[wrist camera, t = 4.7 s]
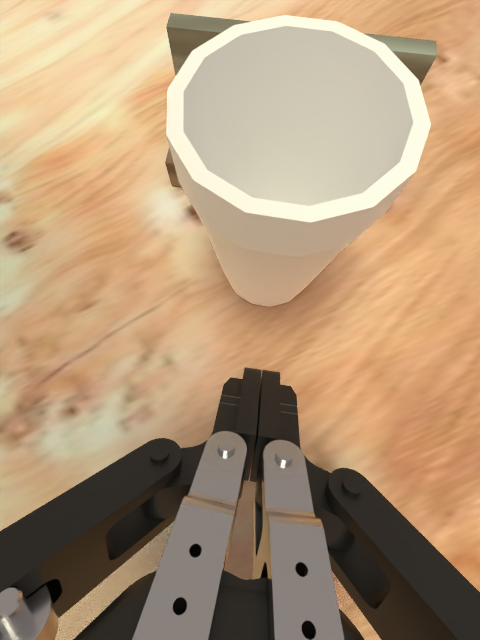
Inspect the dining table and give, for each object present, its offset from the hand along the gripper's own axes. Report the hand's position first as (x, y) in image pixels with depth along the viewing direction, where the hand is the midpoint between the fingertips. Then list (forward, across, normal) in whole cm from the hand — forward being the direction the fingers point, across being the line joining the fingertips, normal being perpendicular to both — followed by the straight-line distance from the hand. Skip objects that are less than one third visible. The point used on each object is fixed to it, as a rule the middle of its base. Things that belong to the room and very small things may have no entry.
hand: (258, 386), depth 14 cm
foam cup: (+12, 0, -1) cm, 13 cm away
